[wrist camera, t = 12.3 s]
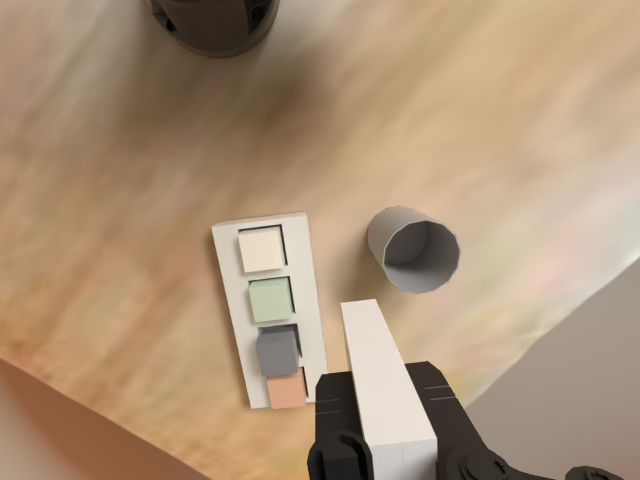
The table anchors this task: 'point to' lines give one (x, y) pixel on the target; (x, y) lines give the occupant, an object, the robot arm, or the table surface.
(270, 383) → the key terracotta
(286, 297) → the key sage
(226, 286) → the keypad
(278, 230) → the key cream
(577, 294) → the table surface
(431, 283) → the cup
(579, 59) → the table surface
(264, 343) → the key charcoal
